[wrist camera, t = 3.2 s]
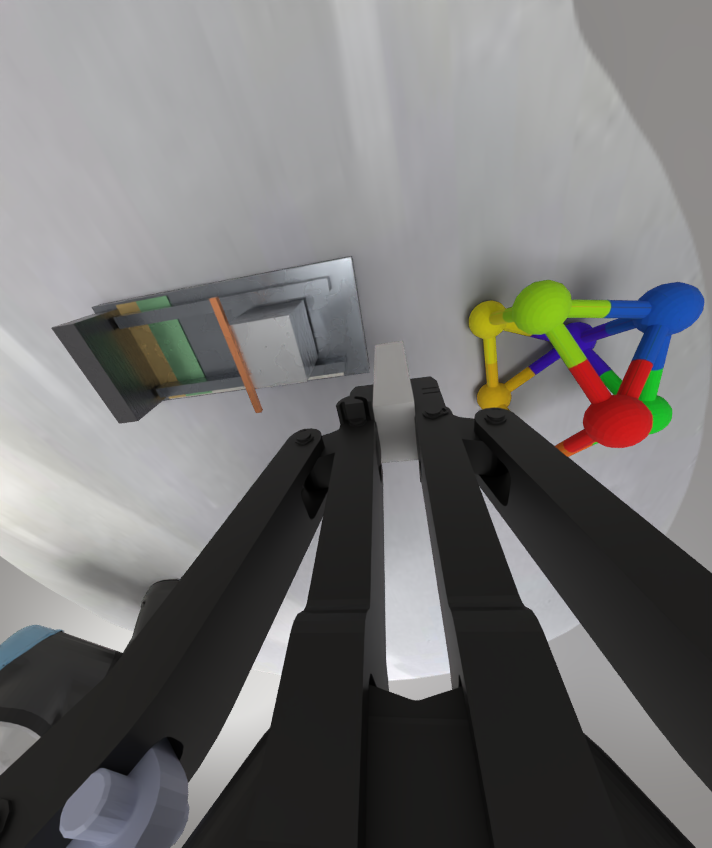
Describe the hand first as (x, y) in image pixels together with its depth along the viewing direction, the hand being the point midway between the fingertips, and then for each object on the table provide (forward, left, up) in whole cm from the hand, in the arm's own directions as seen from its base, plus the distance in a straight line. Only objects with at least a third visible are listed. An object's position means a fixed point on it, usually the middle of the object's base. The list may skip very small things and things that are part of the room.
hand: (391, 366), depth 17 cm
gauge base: (-14, 0, -13) cm, 19 cm away
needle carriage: (-9, 0, -11) cm, 14 cm away
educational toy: (+13, -5, -13) cm, 19 cm away
